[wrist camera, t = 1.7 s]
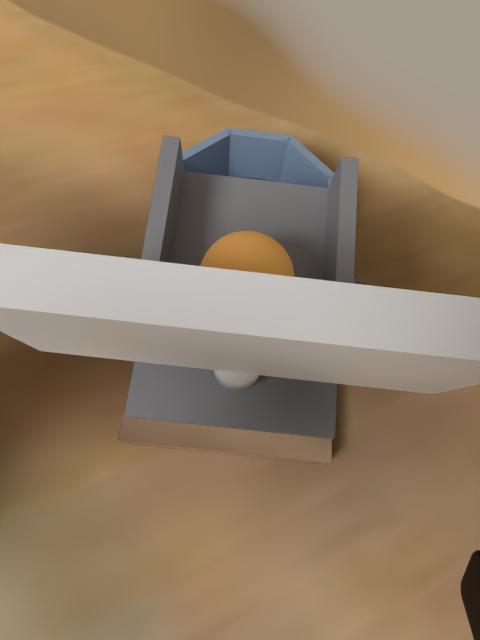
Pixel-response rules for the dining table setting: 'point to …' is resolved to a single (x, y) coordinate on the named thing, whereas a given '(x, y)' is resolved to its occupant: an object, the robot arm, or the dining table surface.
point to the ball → (249, 254)
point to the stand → (225, 439)
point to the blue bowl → (257, 158)
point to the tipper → (241, 309)
